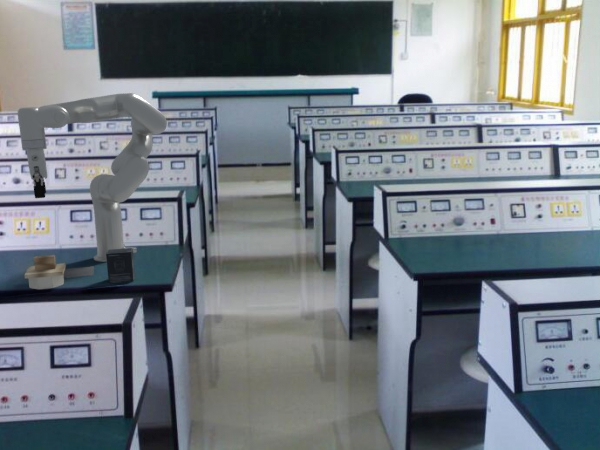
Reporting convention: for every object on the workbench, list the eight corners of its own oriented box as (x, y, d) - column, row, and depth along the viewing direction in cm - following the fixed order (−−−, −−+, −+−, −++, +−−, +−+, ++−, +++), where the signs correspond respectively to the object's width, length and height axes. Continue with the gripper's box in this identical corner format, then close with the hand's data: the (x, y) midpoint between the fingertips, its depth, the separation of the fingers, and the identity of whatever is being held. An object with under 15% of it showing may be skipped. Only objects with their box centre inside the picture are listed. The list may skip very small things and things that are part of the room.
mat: (94, 267, 218) (94, 266, 218) (93, 276, 207) (93, 275, 207) (57, 271, 215) (57, 269, 215) (55, 280, 204) (55, 278, 204)
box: (135, 278, 204) (132, 247, 202) (133, 283, 199) (131, 251, 197) (110, 280, 203) (108, 248, 201) (108, 285, 197) (105, 253, 195)
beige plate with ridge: (65, 266, 203) (64, 251, 202) (62, 275, 193) (61, 259, 192) (29, 269, 200) (28, 254, 199) (24, 278, 190) (23, 262, 189)
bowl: (64, 280, 204) (63, 267, 203) (62, 288, 194) (61, 274, 193) (32, 283, 201) (30, 270, 200) (28, 292, 191) (27, 278, 190)
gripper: (45, 146, 199) (52, 198, 202) (46, 142, 214) (53, 191, 218) (20, 147, 196) (27, 200, 200) (23, 144, 212) (30, 193, 216)
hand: (40, 195), depth 209 cm, fingers open, 9 cm apart
